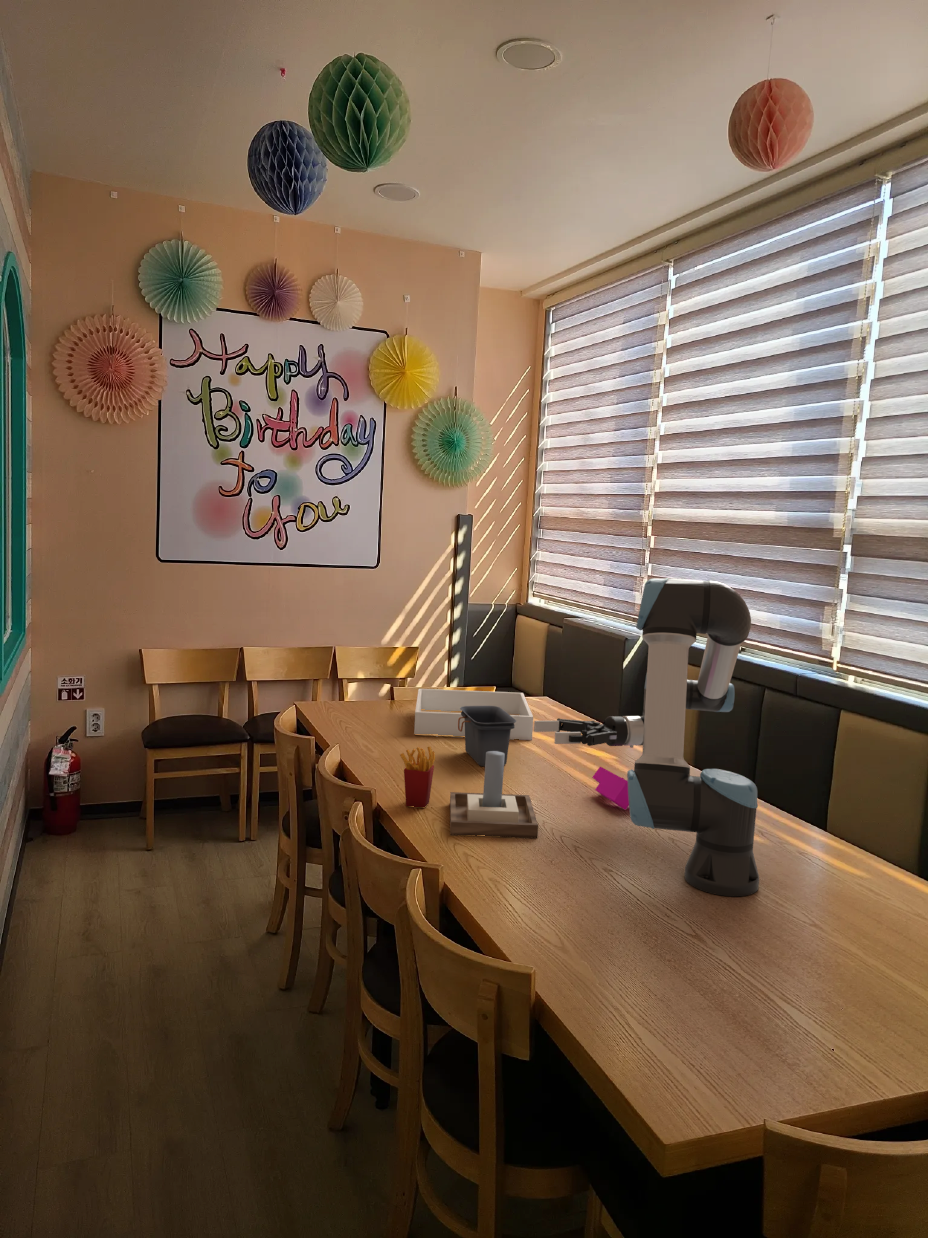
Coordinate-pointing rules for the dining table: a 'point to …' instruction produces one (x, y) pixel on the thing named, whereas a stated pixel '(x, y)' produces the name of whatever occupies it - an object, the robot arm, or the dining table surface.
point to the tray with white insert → (462, 826)
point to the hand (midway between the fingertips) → (544, 732)
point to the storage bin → (486, 731)
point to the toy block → (612, 787)
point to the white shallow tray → (460, 698)
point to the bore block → (492, 810)
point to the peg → (493, 779)
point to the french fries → (418, 777)
